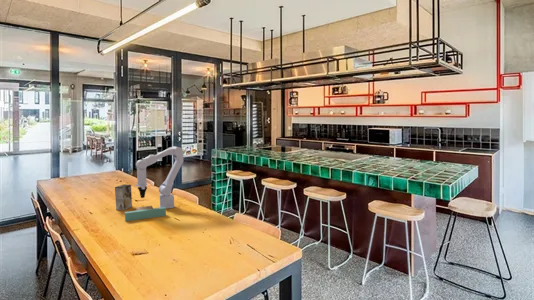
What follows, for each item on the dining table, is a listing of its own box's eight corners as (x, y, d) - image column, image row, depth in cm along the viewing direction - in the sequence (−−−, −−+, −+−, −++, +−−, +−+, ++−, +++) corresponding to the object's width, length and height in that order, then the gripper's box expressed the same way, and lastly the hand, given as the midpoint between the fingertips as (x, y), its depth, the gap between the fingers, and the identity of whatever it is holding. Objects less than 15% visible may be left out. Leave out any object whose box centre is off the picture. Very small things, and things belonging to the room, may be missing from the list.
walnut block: (152, 212, 207) (151, 205, 207) (153, 216, 200) (153, 208, 199) (135, 215, 202) (135, 207, 202) (137, 218, 195) (136, 210, 195)
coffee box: (124, 206, 221) (123, 184, 220) (132, 206, 220) (131, 184, 218) (115, 209, 212) (114, 186, 211) (123, 210, 211) (122, 187, 209)
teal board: (165, 214, 203) (164, 206, 203) (165, 215, 201) (165, 208, 200) (125, 219, 192) (124, 212, 192) (125, 221, 189) (125, 213, 189)
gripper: (134, 176, 212) (135, 195, 213) (136, 180, 199) (137, 200, 201) (145, 175, 215) (146, 194, 217) (148, 179, 203) (148, 199, 204)
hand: (142, 197), depth 209 cm, fingers closed
